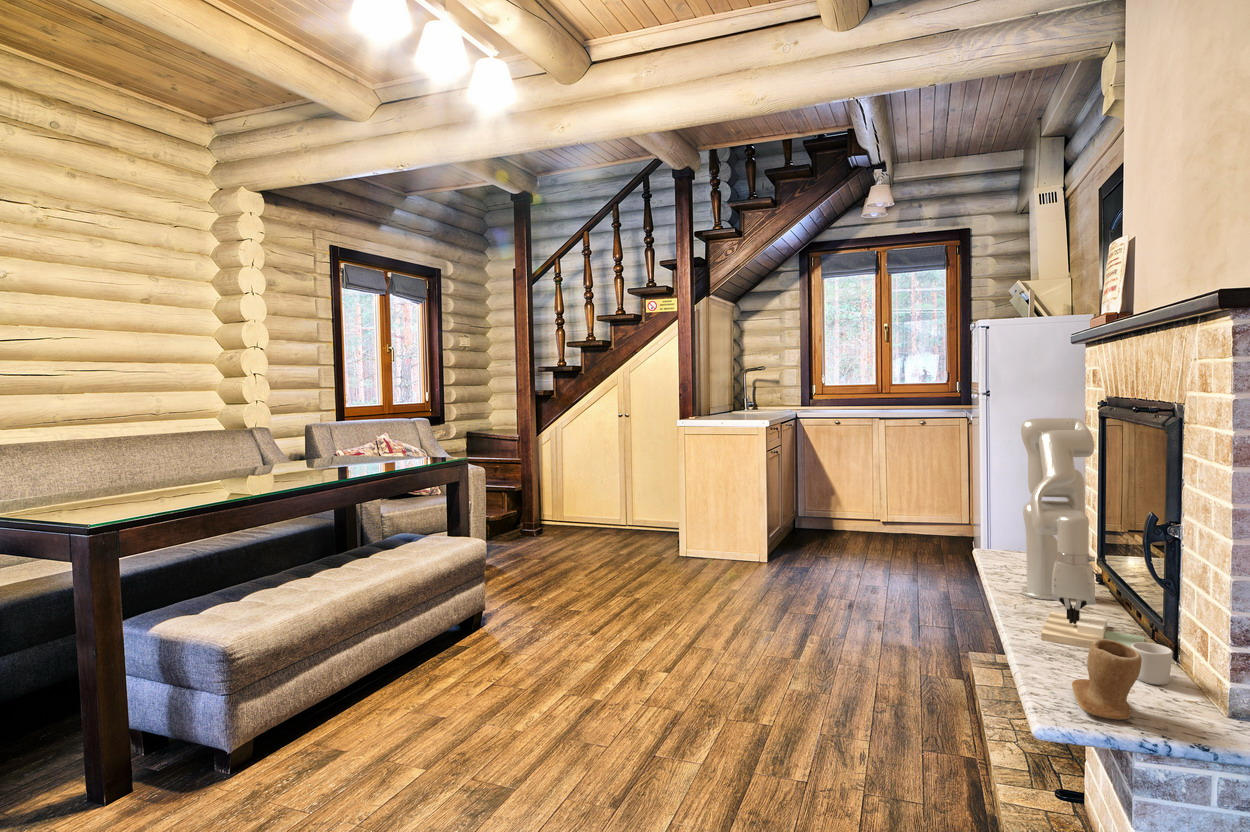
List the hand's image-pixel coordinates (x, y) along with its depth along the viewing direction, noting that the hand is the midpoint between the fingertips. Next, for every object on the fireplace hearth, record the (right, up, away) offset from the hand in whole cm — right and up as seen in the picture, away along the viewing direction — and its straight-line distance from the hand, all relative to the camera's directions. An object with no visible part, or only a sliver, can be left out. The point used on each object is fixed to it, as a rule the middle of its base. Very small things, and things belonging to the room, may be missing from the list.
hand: (1073, 622), depth 202 cm
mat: (+7, -3, -10) cm, 13 cm away
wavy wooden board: (+1, -3, 0) cm, 3 cm away
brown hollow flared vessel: (-22, -6, -46) cm, 51 cm away
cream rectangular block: (+4, -1, -3) cm, 5 cm away
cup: (-1, -5, -32) cm, 32 cm away
